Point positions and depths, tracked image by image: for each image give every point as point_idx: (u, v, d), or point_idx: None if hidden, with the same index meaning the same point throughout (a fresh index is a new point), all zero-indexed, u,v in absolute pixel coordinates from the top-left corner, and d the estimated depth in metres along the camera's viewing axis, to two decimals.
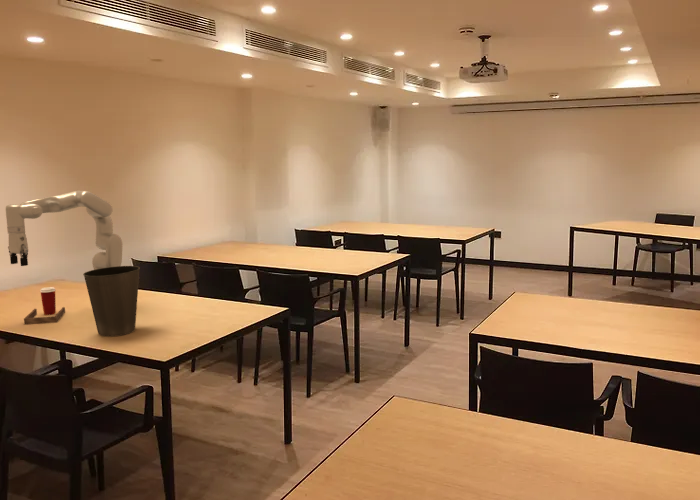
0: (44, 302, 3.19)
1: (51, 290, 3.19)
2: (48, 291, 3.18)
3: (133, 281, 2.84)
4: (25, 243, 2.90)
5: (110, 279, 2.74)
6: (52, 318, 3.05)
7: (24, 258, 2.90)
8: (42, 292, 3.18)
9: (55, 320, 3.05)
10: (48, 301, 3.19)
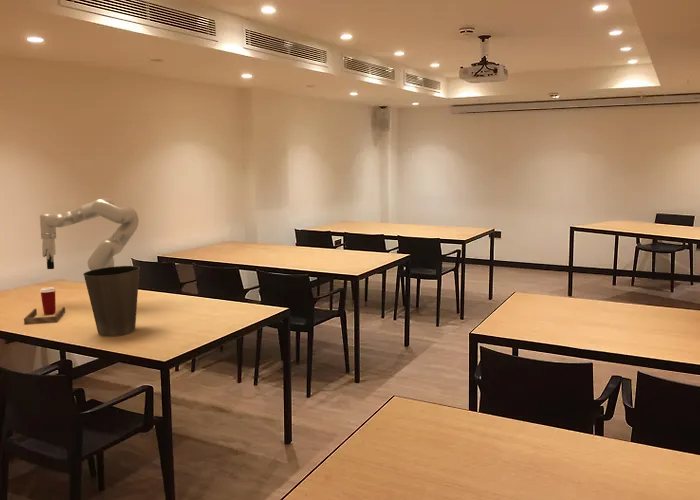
0: (44, 302, 3.19)
1: (51, 290, 3.19)
2: (48, 291, 3.18)
3: (133, 281, 2.84)
4: None
5: (110, 279, 2.74)
6: (52, 318, 3.05)
7: None
8: (42, 292, 3.18)
9: (55, 320, 3.05)
10: (48, 301, 3.19)
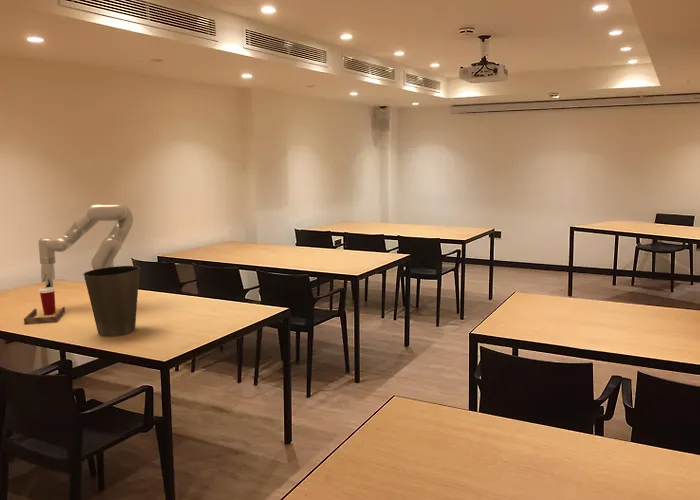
0: (44, 302, 3.18)
1: (50, 290, 3.18)
2: (47, 291, 3.17)
3: (133, 281, 2.84)
4: None
5: (110, 279, 2.74)
6: (52, 318, 3.05)
7: None
8: (41, 292, 3.17)
9: (55, 320, 3.05)
10: (47, 301, 3.18)
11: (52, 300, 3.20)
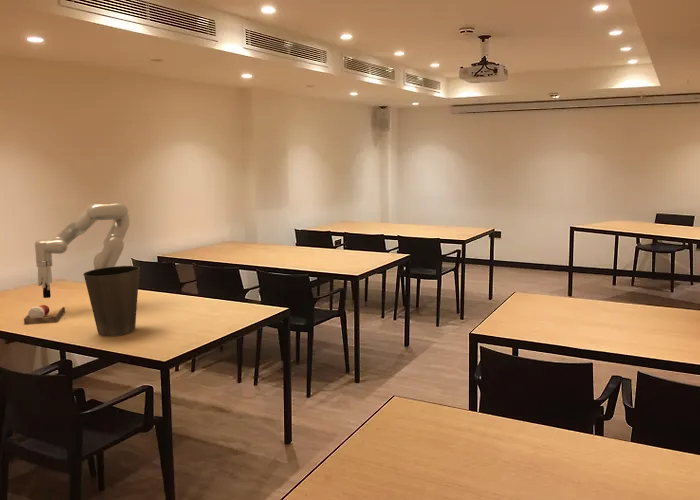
0: None
1: (43, 314, 3.07)
2: None
3: (133, 281, 2.84)
4: None
5: (110, 279, 2.74)
6: (52, 318, 3.05)
7: None
8: None
9: (55, 320, 3.05)
10: (44, 316, 3.12)
11: (46, 312, 3.12)
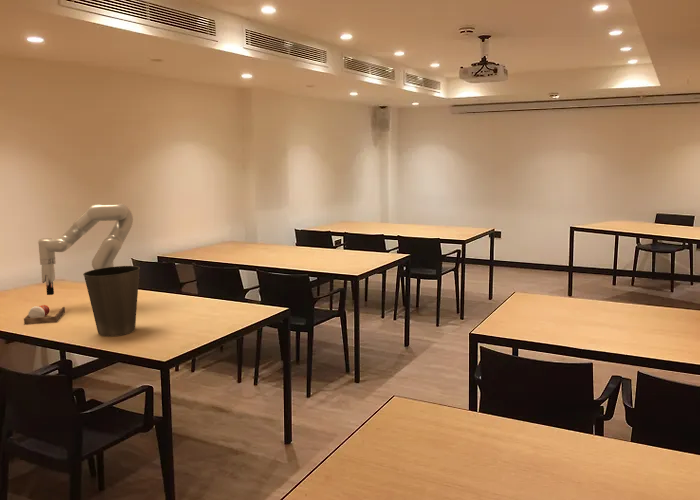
0: None
1: (43, 314, 3.07)
2: None
3: (133, 281, 2.84)
4: None
5: (110, 280, 2.74)
6: (52, 318, 3.05)
7: None
8: None
9: (55, 320, 3.05)
10: (44, 316, 3.12)
11: (46, 312, 3.12)
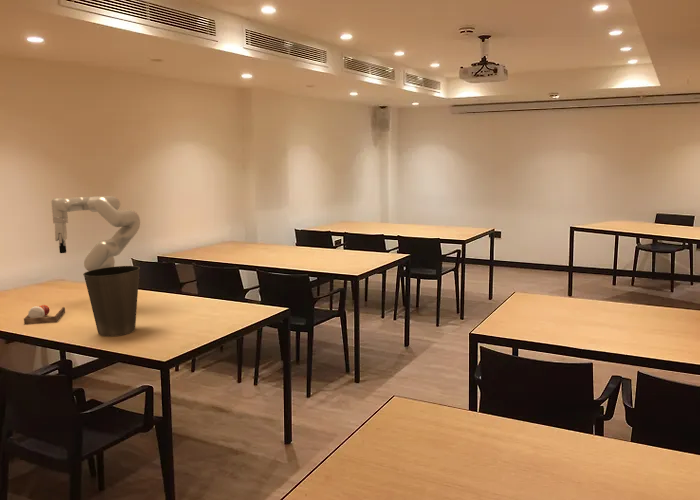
0: None
1: (43, 314, 3.07)
2: None
3: (133, 281, 2.84)
4: None
5: (110, 279, 2.74)
6: (52, 318, 3.05)
7: None
8: None
9: (55, 320, 3.05)
10: (44, 316, 3.12)
11: (46, 312, 3.12)
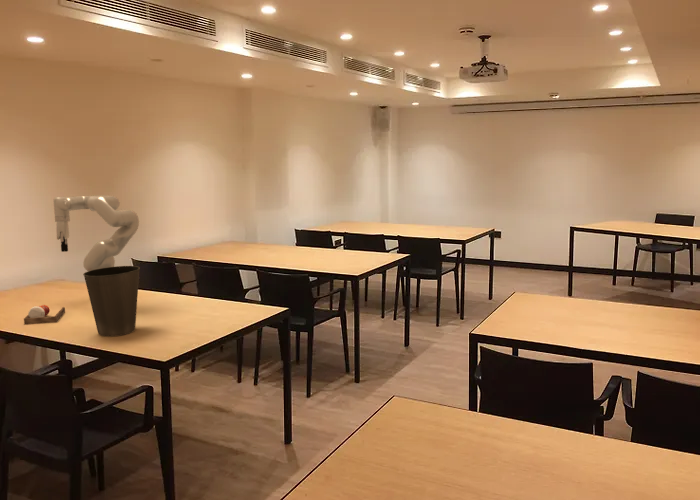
0: None
1: (43, 314, 3.07)
2: None
3: (133, 281, 2.84)
4: None
5: (110, 279, 2.74)
6: (52, 318, 3.05)
7: None
8: None
9: (55, 320, 3.05)
10: (44, 316, 3.12)
11: (46, 312, 3.12)
